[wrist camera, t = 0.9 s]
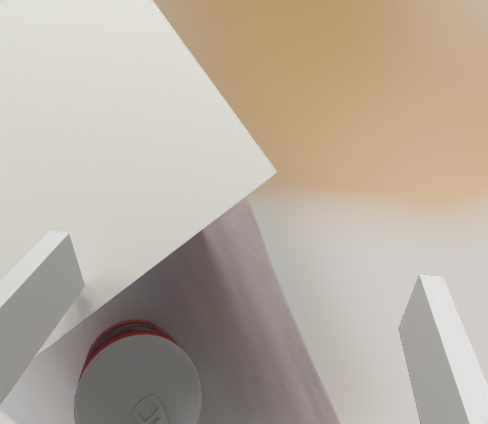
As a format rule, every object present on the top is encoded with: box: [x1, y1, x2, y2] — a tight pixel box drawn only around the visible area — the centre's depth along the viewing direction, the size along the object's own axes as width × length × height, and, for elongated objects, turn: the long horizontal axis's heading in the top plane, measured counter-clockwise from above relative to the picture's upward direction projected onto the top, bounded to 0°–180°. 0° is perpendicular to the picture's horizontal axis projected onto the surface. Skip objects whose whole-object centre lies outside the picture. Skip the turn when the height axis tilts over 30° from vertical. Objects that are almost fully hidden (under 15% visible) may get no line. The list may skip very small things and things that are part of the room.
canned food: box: [74, 320, 202, 424], centre depth 28 cm, size 8×8×11 cm
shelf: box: [0, 0, 277, 358], centre depth 25 cm, size 17×18×19 cm
